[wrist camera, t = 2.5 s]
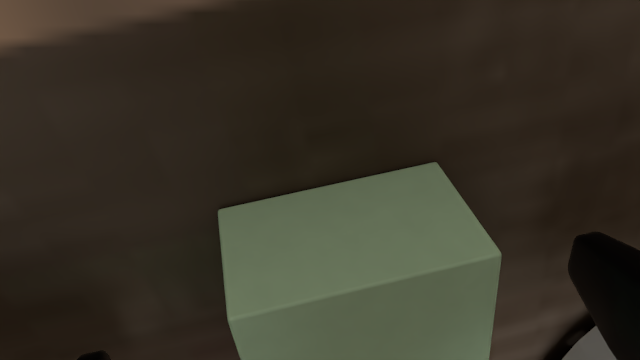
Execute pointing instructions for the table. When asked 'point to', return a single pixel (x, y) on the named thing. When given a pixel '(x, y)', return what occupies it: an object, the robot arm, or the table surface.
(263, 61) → the table surface
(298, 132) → the table surface
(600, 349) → the mechanical component
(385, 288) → the pad
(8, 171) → the table surface
